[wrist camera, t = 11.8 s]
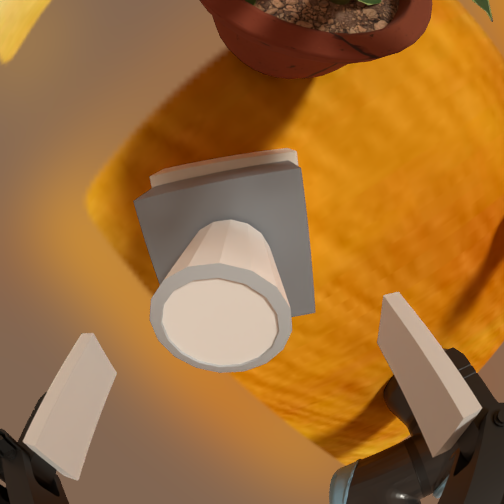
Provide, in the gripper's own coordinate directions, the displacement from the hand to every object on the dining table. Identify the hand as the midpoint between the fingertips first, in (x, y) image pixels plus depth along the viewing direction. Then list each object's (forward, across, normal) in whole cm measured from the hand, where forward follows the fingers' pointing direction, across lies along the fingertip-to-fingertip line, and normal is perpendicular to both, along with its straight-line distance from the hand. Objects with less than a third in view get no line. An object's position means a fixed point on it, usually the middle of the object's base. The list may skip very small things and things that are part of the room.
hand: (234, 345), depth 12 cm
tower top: (+14, 0, 0) cm, 14 cm away
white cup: (+9, 0, 0) cm, 9 cm away
